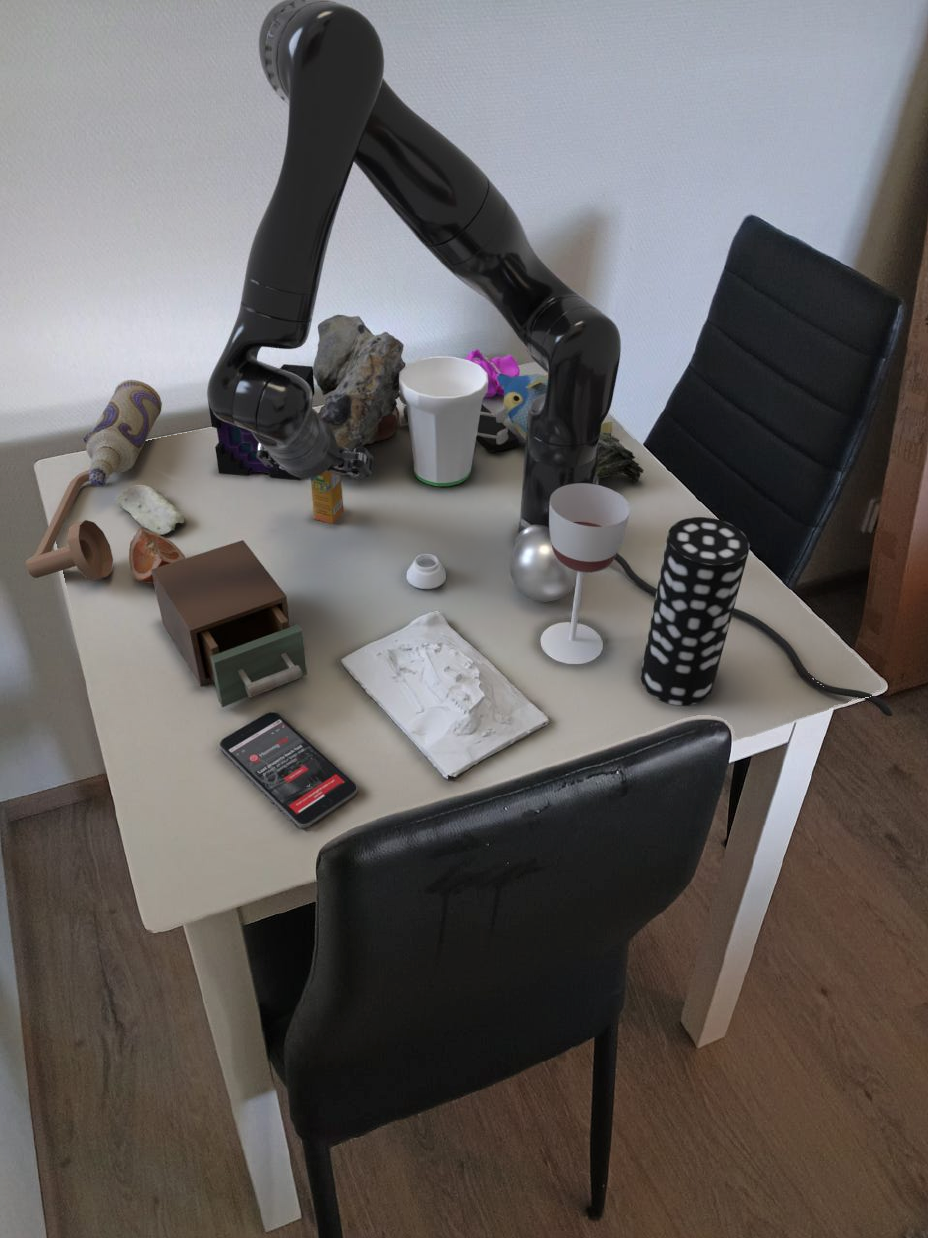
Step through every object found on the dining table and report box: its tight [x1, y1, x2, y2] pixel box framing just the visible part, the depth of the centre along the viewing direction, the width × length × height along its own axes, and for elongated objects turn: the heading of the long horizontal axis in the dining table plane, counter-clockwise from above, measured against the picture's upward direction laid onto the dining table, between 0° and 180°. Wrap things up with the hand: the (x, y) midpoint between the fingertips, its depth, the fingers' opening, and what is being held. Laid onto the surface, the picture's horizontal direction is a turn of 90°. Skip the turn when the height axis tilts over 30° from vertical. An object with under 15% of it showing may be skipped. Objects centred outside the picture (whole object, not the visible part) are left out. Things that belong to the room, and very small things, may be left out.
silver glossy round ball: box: [509, 525, 578, 602], centre depth 125 cm, size 9×10×10 cm
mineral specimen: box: [595, 433, 644, 483], centre depth 147 cm, size 15×13×10 cm
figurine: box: [398, 391, 509, 444], centre depth 154 cm, size 7×6×18 cm
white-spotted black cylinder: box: [640, 516, 751, 706], centre depth 110 cm, size 8×8×20 cm
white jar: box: [406, 553, 447, 590], centre depth 128 cm, size 5×3×5 cm
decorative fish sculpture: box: [497, 373, 613, 441], centre depth 154 cm, size 12×20×15 cm
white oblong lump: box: [117, 484, 187, 536], centre depth 138 cm, size 12×5×4 cm
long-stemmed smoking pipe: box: [25, 469, 114, 581], centre depth 133 cm, size 25×9×8 cm, turn 3°
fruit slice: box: [128, 526, 186, 584], centre depth 127 cm, size 8×7×5 cm
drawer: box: [197, 605, 308, 708], centre depth 112 cm, size 15×10×7 cm, turn 32°
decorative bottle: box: [83, 379, 163, 487], centre depth 146 cm, size 26×8×7 cm, turn 1°
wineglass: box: [539, 483, 631, 665], centre depth 114 cm, size 8×9×20 cm
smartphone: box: [219, 710, 358, 829], centre depth 104 cm, size 7×1×15 cm
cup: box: [399, 355, 488, 487], centre depth 144 cm, size 12×12×15 cm
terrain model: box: [340, 610, 550, 780], centre depth 113 cm, size 17×23×5 cm
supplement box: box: [310, 466, 345, 525], centre depth 136 cm, size 3×3×10 cm
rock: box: [312, 314, 407, 452], centre depth 144 cm, size 25×21×15 cm
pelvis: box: [465, 349, 521, 398], centre depth 165 cm, size 12×10×7 cm
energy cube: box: [207, 363, 316, 481], centre depth 147 cm, size 12×12×12 cm
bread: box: [374, 406, 400, 442], centre depth 156 cm, size 11×11×5 cm
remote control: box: [476, 403, 518, 453], centre depth 158 cm, size 5×2×15 cm
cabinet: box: [151, 539, 291, 687], centre depth 117 cm, size 12×11×8 cm
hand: (327, 470), depth 136 cm, fingers open, 8 cm apart
